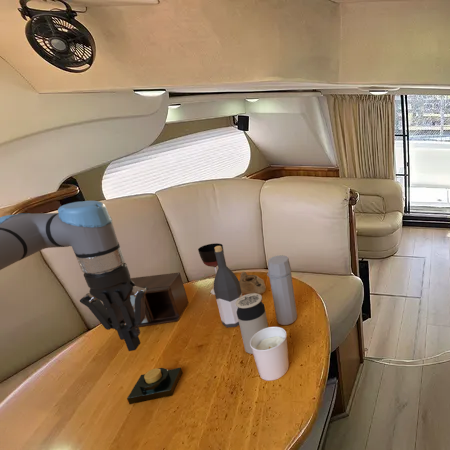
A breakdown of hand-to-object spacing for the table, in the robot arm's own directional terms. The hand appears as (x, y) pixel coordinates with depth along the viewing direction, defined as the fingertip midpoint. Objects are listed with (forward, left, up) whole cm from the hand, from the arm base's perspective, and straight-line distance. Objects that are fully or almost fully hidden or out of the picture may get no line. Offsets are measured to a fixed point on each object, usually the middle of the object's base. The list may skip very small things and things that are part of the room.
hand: (134, 346), depth 81 cm
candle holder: (+32, -2, -16) cm, 36 cm away
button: (+1, 0, -12) cm, 12 cm away
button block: (+1, 0, -15) cm, 15 cm away
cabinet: (-12, +38, -15) cm, 43 cm away
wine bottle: (+16, +26, -16) cm, 35 cm away
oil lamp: (+20, +44, -16) cm, 51 cm away
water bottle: (+34, +22, -16) cm, 44 cm away
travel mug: (+26, +10, -16) cm, 32 cm away
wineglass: (+6, +50, -16) cm, 53 cm away
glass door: (-16, +28, -14) cm, 35 cm away
